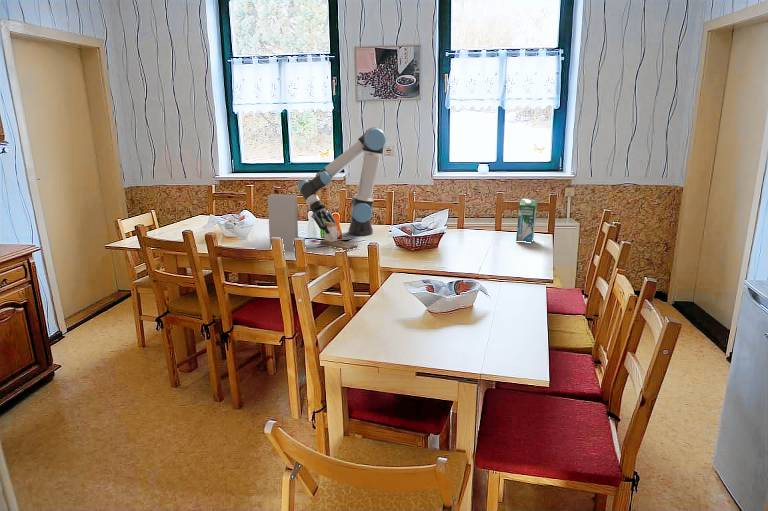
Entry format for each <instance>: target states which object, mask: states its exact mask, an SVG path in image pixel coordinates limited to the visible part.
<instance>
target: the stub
mask: <svg viewBox="0 0 768 511" xmlns="http://www.w3.org/2000/svg"><path fill="white" fill-rule="evenodd" d="M325 224H326V226H327V227H329V229H330V231H331V232H332V234H333V235H334V237H333V238H332V239H330V237H329V236H328V234H326V232H325V231H324V240H327V241H330V242H334V241H337V240H338V238H337V229H338V222H337V223H333V222H327V221H325Z"/></svg>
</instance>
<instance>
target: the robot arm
mask: <svg viewBox="0 0 768 511" xmlns="http://www.w3.org/2000/svg"><path fill="white" fill-rule="evenodd" d="M386 141H387V138H386V134H385V133H384V131H383V130H382V129H381V128H378V127H369V128H368V129H367V130H365V132H364V133H363V134H362V135H361V136H359V138H357V141H356V142H355V143H353V144H352V145H351V146H350V147H349V148H347V149H346V150H345V151H344V152H342V154H340V155H338V157H336V158H335V159H334V160H332V161H331V162H330V163H329V164H327V165H326V166H325V167H324V168H323V169H321V170H320V171H318V172H317V173H316V174H315V176H314V177H313V178H312V179H311V180H308V179H303V180H301V181H299V182H298V184H297V189H298V191H299V193H300V194H301V197H302V198H303V199H304V201H305V202H306V204H307V205H308V207H309V209H310V211H311V212H312V214H311V219H313V220H314V221H315V223H316V224H317V226H318V227H319V229H320V230H322V231H324V233H325V232H326V234H328V236H329V237H330V239H332V238H333V237H334V235H333V234H332V232H331V231H330V229H329V227H327V226H326V224H325V223H326V222H333V223H337V224H338V222H337V220H336V219H335V217H334V216H333V213H332V211H331V209H330V210H327V209H326V208H325V205H324V204H323V202H322V200H321V199H320V196H319V195H318V194H317V192H319V191H320V190H322V189H323V188H325V187H327V186H328V185H329V184H330V183H332V181H333V178H334V177H335V176H337V175H338V174H339V173H340V172H342V171H343V170H344V169H346V168H347V167H348V166H349V165H350V164H352V163H353V162H355V160H357V159H358V158H359V157H361V156H362V155H363V154H364V155H363V160H362V167H361V172H360V178H359V183H358V188H357V194H356V195H355V196H354V195H353V196H351V200H350V202H351V203H350V204H351V213H350V217H351V218H350V219H351V221H350V224H349V228H348V234H349V235H352V234H353V235H352V236H369V235H373V232H374V230H373V227H372V223H371V218H372V216H373V206H374V198H373V193H374V186H375V182H376V177H377V176H376V175H377V172H378V164H379V159H380V157H381V156H382V155H383V153H384V149H385V144H386ZM340 236H341V234H340V232H339V229H338V228H337V239H338V238H339V237H340Z"/></svg>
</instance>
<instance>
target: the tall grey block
mask: <svg viewBox="0 0 768 511" xmlns="http://www.w3.org/2000/svg"><path fill="white" fill-rule="evenodd" d="M297 198H298V195H297V194H286V193H270V195H267V210H268V231H269V232H268V233H269V249H270V248H271V238H272V237H281V238H282V239H283V244H284V250H285V251H284V252H292V253H293V252H294V244H293V240H294V239H295V238H298V239H299V225H298V224H299V223H298V221H299V220H298V199H297Z"/></svg>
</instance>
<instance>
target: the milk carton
mask: <svg viewBox="0 0 768 511" xmlns="http://www.w3.org/2000/svg"><path fill="white" fill-rule="evenodd" d="M518 207H519V208H518V217H517V228H516V229H517V230H516V237H515V238H516V240H515V242H516V241H526V242H532V240H533V241H534V239H533V238H534V237H535V227H536V218H537V209H538V199H531V198H521V199H520V202H519V205H518ZM532 243H533V242H532Z"/></svg>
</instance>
